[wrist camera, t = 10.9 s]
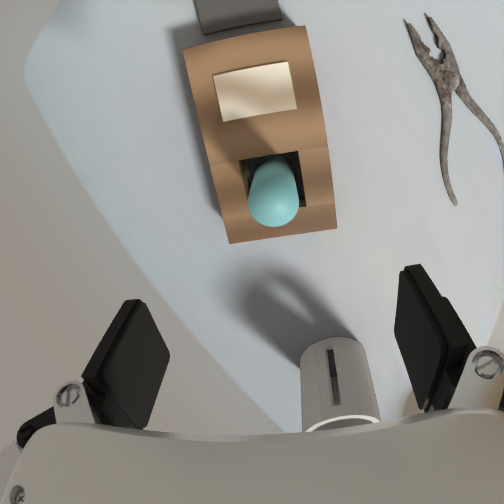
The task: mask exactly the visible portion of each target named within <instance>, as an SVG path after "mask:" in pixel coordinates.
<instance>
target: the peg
mask: <svg viewBox="0 0 504 504" xmlns="http://www.w3.org/2000/svg"><path fill="white" fill-rule="evenodd" d="M298 208H299V198H298V193H297V188H296V183H295V178H294V173H293V169H292V166H291V165H290V163H289V162H288V161H287V160H286V159H284V158H282V157H279V156H269V157H266V158H264V159H262V160H261V161H260V162H259V163H258V165H257V167H256V170H255V173H254V177H253V181H252V185H251V189H250V192H249V196H248V209H249V211H250V214H251V215H252V217H253V218H254V219H255V220H256V221H257V222H259V223H261V224H263V225H265V226H270V227H278V226H282V225H284V224H287V223H288V222H290V221H291V220H292V219H293V218H294V217H295V215H296V213H297V211H298Z"/></svg>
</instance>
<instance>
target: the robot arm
mask: <svg viewBox="0 0 504 504" xmlns="http://www.w3.org/2000/svg"><path fill="white" fill-rule="evenodd" d="M394 333H395V338H396V341H397V343H398V346H399V349H400V352H401V355H402V357H403V360H404V363H405V366H406V369H407V372H408V375H409V378H410V381H411V384H412V388H413V391H414V394H415V397H416V401H417V404H418V407H419V409H420V410H422V409H424V411H425V413H423V414H417V415H412V416H408V417H403V418H398V419H393V420H388V421H382V422H377V423H371V424H365V425H358V426H352V427H345V428H338V429H330V430H321V431H311V432H300V433H286V434H267V435H202V434H182V433H169V432H158V431H148V430H143V428H145V427H146V426H147V424H148V422H149V418H150V415H151V412H152V409H153V406H154V403H155V400H156V397H157V394H158V391H159V388H160V385H161V383H162V379H163V377H164V374H165V371H166V368H167V365H168V362H169V359H170V354H169V350H168V348H167V346H166V344H165V342H164V340H163V338H162V336H161V334H160V332H159V330H158V328H157V326H156V324H155V322H154V320H153V318H152V316H151V314H150V312H149V309H148V307H147V305H146V304H145V303H143V302H142V301H141V300H140V299H134V300H126V301H125V302H124V303H123V305H122V306H121V308H120V310H119V311H118V313H117V314H116V316H115V318H114V320H113V321H112V323H111V325H110V326H109V328H108V329H107V331H106V333H105V335H104V336H103V338H102V340H101V342H100V343H99V345H98V347H97V348H96V350H95V352H94V354H93V355H92V357H91V359H90V361H89V363H88V364H87V366H86V368H85V370H84V372H83V374H82V375H81V377H82V378H83V379H84V381H83V383H80V382H79V381H75V380H74V381H69V382H66V383H64V384H63V385H61V386H60V387H59V388H58V389H57V391H56V392H55V394H54V397H53V407H51V408H49V409H48V410H46V411H44V412H42V413H41V414H39V415H37V416H36V417H34V418H32V419H30V420H28V421H27V422H25V423H24V424H23V425H22V426H21V427H20V429H19V431H18V433H17V442H15V441H14V440H13V441H12V442H11V443H10V444H9V445H8V446H7V447H6V448H5V449H4V450H3V451H2V452H1V453H0V504H504V354H503V353H502V352H500V351H499V350H498V349H496V348H493V347H489V346H483V347H479V348H476V346H475V344H474V342H473V341H472V339H471V337H470V335H469V333H468V332H467V330H466V328H465V326H464V325H463V323H462V321H461V320H460V318H459V316H458V315H457V313H456V311H455V310H454V308H453V307H452V305H451V303H450V302H449V300H448V299H447V298H446V297H442V296H441V294H440V293H439V291H438V290H437V288H436V286H435V285H434V283H433V282H432V280H431V279H430V277H429V276H428V274H427V273H426V271H425V270H424V268H423V267H422V265H421V264H416V265H410V266H405V268H404V271H400V274H399V286H398V298H397V308H396V317H395V326H394Z"/></svg>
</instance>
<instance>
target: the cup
mask: <svg viewBox="0 0 504 504" xmlns="http://www.w3.org/2000/svg"><path fill="white" fill-rule="evenodd" d="M331 349H333V351H334V357H335V364H336V371H337V377H330V370H329V363H328V355H327V350H331ZM300 378H301V407H302V432H311V431H321V430H330V429H338V428H345V427H352V426H358V425H365V424H371V423H377V422H381V419H380V414H379V409H378V404H377V400H376V395H375V391H374V386H373V382H372V378H371V373H370V369H369V365H368V361H367V357H366V353H365V350H364V347H363V346H362V345H361V344H360V343H359V342H357V341H356V340H354V339H351V338H347V337H330V338H326V339H323V340H320V341H318V342H316V343H314V344H312V345H310V346H309V347H308V348H307V349H306V350H305V351H304V352H303V354H302V356H301V358H300Z"/></svg>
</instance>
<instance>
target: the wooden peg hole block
mask: <svg viewBox="0 0 504 504" xmlns="http://www.w3.org/2000/svg"><path fill="white" fill-rule="evenodd" d="M183 54H184V59H185V63H186V68H187V72H188V76H189V81H190V85H191V89H192V94H193V98H194V102H195V107H196V111H197V115H198V119H199V124H200V128H201V132H202V136H203V140H204V144H205V149H206V153H207V157H208V161H209V165H210V169H211V173H212V177H213V181H214V185H215V189H216V193H217V197H218V201H219V205H220V209H221V213H222V217H223V221H224V225H225V229H226V233H227V237H228V240H229V244H232V243H239V242H246V241H253V240H260V239H266V238H273V237H280V236H287V235H294V234H301V233H308V232H316V231H323V230H330V229H337V221H336V210H335V200H334V191H333V182H332V174H331V166H330V158H329V151H328V144H327V137H326V131H325V124H324V118H323V112H322V106H321V100H320V94H319V89H318V84H317V78H316V73H315V68H314V63H313V58H312V54H311V49H310V44H309V40H308V36H307V31H306V27H305V26H296V27H288V28H281V29H274V30H268V31H262V32H256V33H250V34H245V35H240V36H235V37H231V38H226V39H222V40H218V41H214V42H210V43H206V44H202V45H198V46H195V47H191V48H188V49H184V50H183ZM293 151H297V154H298V160H299V166H300V172H301V179H302V185H303V192H304V196H298V198H299V208H298V211H297V213H296V215H295V217H294V218H293V219H292V220H291V221H290V222H288V223H287V224H284V225H282V226H278V227H270V226H265V225H263V224H261V223H259V222H257V221H256V220H255V219H254V218H253V217H252V215H251V214H250V211H249V209H248V196H249V192H250V188H249V183H248V178H247V174H246V169H245V164H244V160H245V159H250V158H256V157H262V156H267V155H274V154H280V153H286V152H293Z"/></svg>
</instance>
